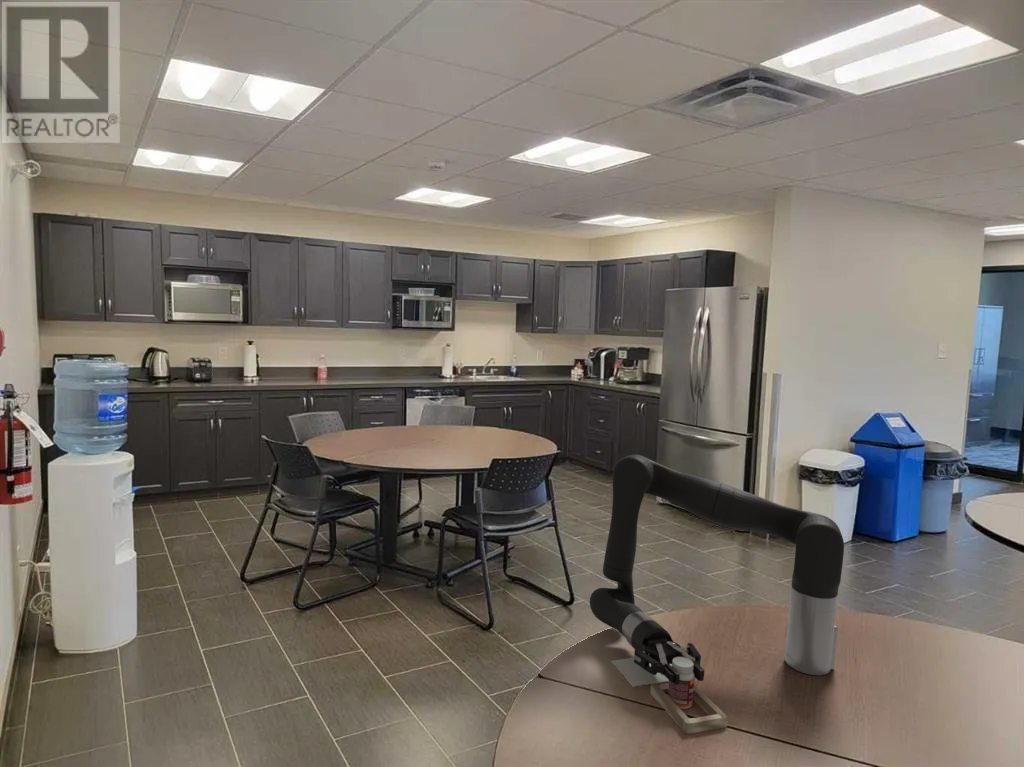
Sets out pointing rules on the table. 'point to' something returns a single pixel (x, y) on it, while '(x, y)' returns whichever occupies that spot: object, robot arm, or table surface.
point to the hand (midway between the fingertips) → (690, 678)
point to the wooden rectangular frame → (694, 724)
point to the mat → (637, 673)
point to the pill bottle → (682, 683)
